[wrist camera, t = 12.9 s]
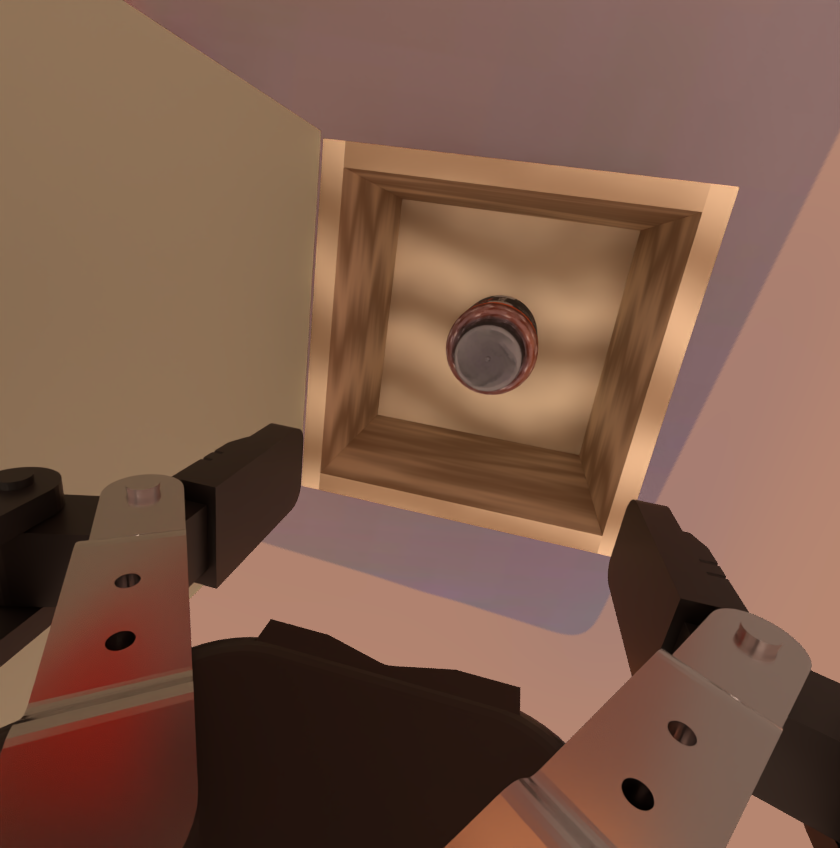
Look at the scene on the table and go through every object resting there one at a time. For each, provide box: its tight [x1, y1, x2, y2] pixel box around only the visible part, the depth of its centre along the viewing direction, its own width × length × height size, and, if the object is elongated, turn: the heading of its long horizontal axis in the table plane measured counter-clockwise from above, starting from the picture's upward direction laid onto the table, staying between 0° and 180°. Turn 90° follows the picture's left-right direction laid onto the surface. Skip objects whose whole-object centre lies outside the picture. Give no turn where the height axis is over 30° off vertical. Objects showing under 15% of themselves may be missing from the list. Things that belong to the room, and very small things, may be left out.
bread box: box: [302, 138, 739, 556], centre depth 33 cm, size 20×20×14 cm
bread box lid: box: [0, 0, 321, 728], centre depth 19 cm, size 21×21×1 cm
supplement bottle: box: [446, 295, 538, 395], centre depth 33 cm, size 6×6×11 cm
